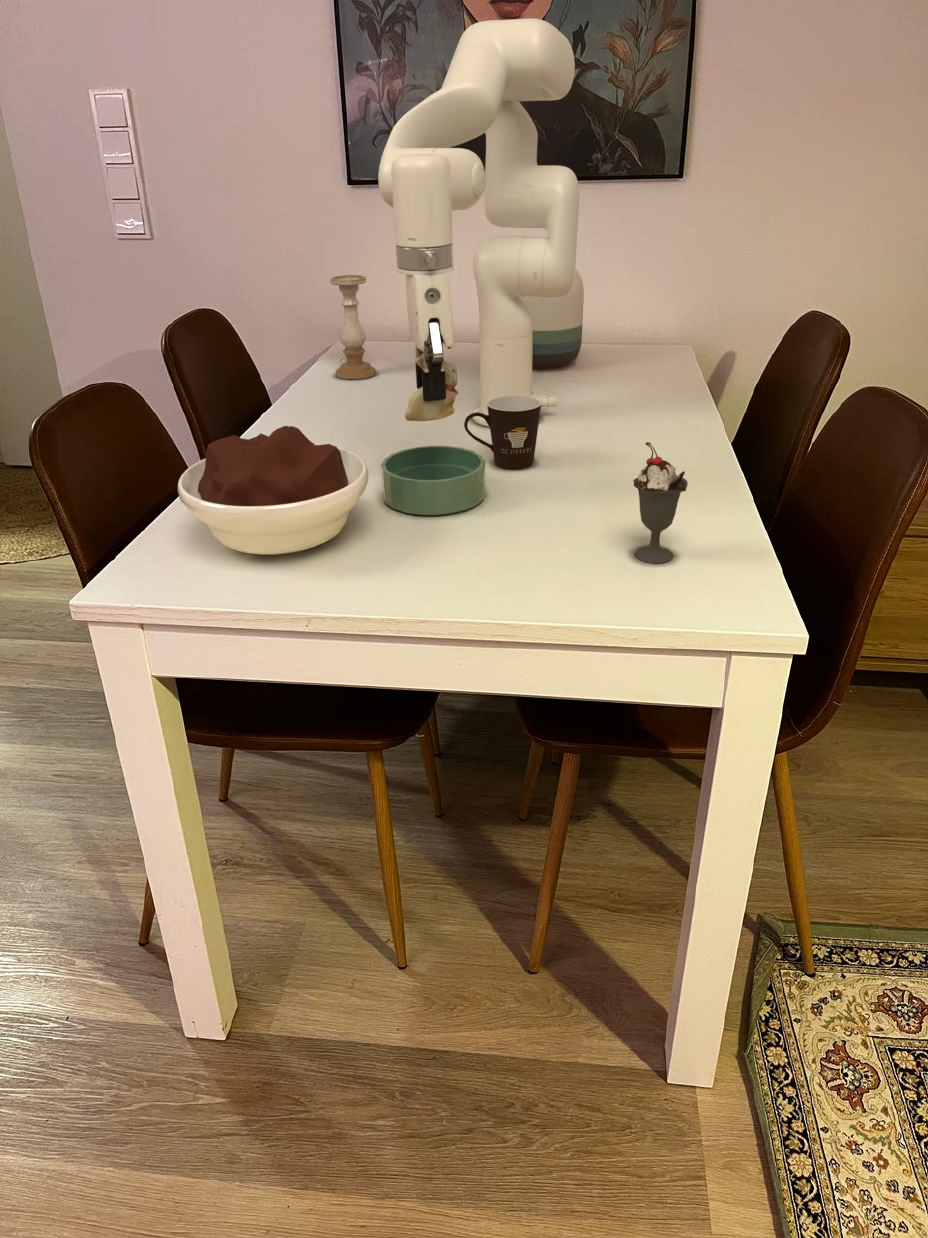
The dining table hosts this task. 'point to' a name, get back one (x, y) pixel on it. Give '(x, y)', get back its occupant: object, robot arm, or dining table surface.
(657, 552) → the sundae
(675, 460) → the dining table surface
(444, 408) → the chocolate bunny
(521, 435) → the coffee mug
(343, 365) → the candle holder
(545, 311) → the vase
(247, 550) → the cream round dish
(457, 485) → the bowl
